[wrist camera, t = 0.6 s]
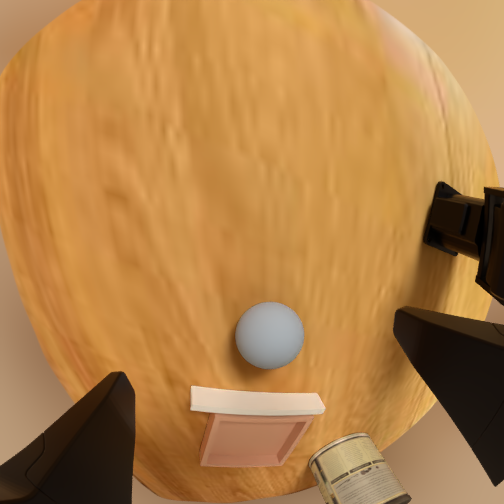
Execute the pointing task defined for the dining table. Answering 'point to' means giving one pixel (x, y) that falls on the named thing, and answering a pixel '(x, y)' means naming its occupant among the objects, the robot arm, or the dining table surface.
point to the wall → (254, 402)
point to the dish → (251, 439)
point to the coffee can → (355, 473)
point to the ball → (269, 335)
